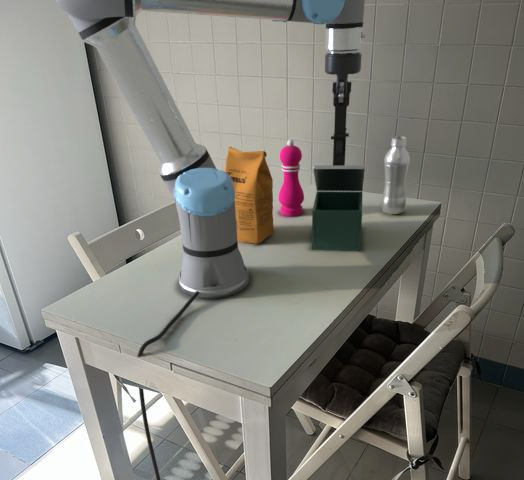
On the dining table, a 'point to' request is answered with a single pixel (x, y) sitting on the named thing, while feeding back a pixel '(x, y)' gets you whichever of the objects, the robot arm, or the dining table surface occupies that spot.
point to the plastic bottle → (395, 176)
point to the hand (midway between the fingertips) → (338, 167)
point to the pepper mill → (291, 181)
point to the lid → (339, 178)
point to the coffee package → (251, 194)
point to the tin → (337, 220)
